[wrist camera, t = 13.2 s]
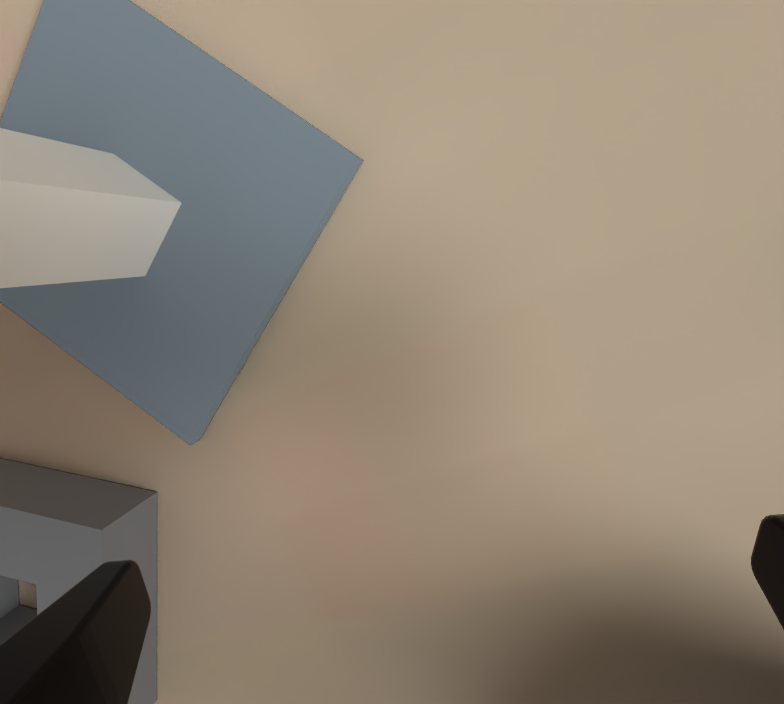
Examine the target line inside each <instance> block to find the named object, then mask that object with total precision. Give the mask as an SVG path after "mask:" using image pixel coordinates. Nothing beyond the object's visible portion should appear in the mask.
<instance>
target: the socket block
mask: <svg viewBox="0 0 784 704" xmlns="http://www.w3.org/2000/svg"><path fill="white" fill-rule="evenodd" d="M121 560H133V561H135V562H136V563H137V564H138V565H139V567H140V570H141V573H142V576H143V579H144V582H145V585H146V588H147V591H148V594H149V597H150V601H151V616H150V621H149V625H148V629H147V632H146V636H145V640H144V644H143V648H142V651H141V655H140V659H139V663H138V667H137V670H136V674H135V678H134V682H133V686H132V690H131V693H130V697H129V701H128V704H154V703H155V701H156V700H157V492H155V491H150V490H145V489H141V488H136V487H131V486H127V485H122V484H117V483H113V482H108V481H104V480H99V479H94V478H90V477H85V476H80V475H76V474H71V473H66V472H62V471H57V470H53V469H48V468H43V467H39V466H34V465H29V464H25V463H20V462H15V461H11V460H6V459H2V458H0V645H1V644H2V643H3V642H4V641H6V640H7V639H8V638H9V637H11V636H12V635H13V634H14V633H16V632H17V631H18V630H20V629H21V628H22V627H23V626H25V625H26V624H27V623H28V622H30V621H31V620H32V619H33V618H35V617H36V616H37V615H38V614H40V613H41V612H42V611H43V610H45V609H46V608H47V607H48V606H50V605H51V604H52V603H53V602H55V601H56V600H57V599H58V598H60V597H61V596H62V595H64V594H65V593H66V592H67V591H69V590H70V589H71V588H72V587H74V586H75V585H76V584H77V583H79V582H80V581H81V580H82V579H84V578H85V577H86V576H87V575H89V574H90V573H91V572H92V571H94V570H95V569H96V568H97V567H99V566H100V565H102V564H103V563H105V562H109V561H121ZM18 580H20V581H24V582H28V583H31V584H35V585H36V599H37V610H36V609H32V608H29V607H25V606H21V605H19V592H18Z"/></svg>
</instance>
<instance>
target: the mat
mask: <svg viewBox="0 0 784 704" xmlns="http://www.w3.org/2000/svg"><path fill="white" fill-rule="evenodd" d="M0 128H3V129H7V130H11V131H16V132H20V133H25V134H29V135H33V136H38V137H42V138H47V139H51V140H55V141H60V142H64V143H69V144H73V145H78V146H82V147H86V148H91V149H95V150H100V151H104V152H108V153H113V154H115V155H116V156H117V157H119V158H120V159H122V160H123V161H124V162H126V163H127V164H128V165H130V166H131V167H133V168H134V169H135V170H137V171H138V172H140V173H141V174H142V175H144V176H145V177H147V178H148V179H149V180H151V181H152V182H153V183H155V184H156V185H158V186H159V187H160V188H162V189H163V190H165V191H166V192H167V193H169V194H170V195H171V196H173V197H174V198H176V199H177V200H178V201H180V202H181V205H180V207H179V209H178V211H177V213H176V215H175V217H174V219H173V221H172V223H171V225H170V227H169V229H168V231H167V233H166V235H165V237H164V239H163V241H162V243H161V245H160V247H159V249H158V251H157V253H156V255H155V257H154V259H153V261H152V263H151V265H150V267H149V269H148V271H147V273H146V275H145V276H141V277H129V278H117V279H105V280H93V281H82V282H70V283H58V284H46V285H34V286H22V287H10V288H0V302H1V303H2V304H3V305H5V306H6V307H7V308H9V309H10V310H11V311H13V312H14V313H15V314H17V315H18V316H19V317H21V318H22V319H23V320H25V321H26V322H27V323H29V324H30V325H31V326H33V327H34V328H35V329H36V330H38V331H39V332H40V333H42V334H43V335H44V336H46V337H47V338H48V339H50V340H51V341H52V342H54V343H55V344H56V345H58V346H59V347H60V348H62V349H63V350H64V351H66V352H67V353H68V354H70V355H71V356H72V357H74V358H75V359H76V360H78V361H79V362H80V363H82V364H83V365H84V366H86V367H87V368H88V369H90V370H91V371H92V372H94V373H95V374H96V375H98V376H99V377H100V378H101V379H103V380H104V381H105V382H107V383H108V384H109V385H111V386H112V387H113V388H115V389H116V390H117V391H119V392H120V393H121V394H123V395H124V396H125V397H127V398H128V399H129V400H131V401H132V402H133V403H135V404H136V405H137V406H139V407H140V408H141V409H143V410H144V411H145V412H147V413H148V414H149V415H151V416H152V417H153V418H155V419H156V420H157V421H159V422H160V423H161V424H163V425H164V426H165V427H166V428H168V429H169V430H170V431H172V432H173V433H174V434H176V435H177V436H178V437H180V438H181V439H182V440H184V441H185V442H186V443H188V444H189V445H192V444H193V443H195V442H197V441H198V440H200V438H201V436H202V435H203V433H204V431H205V429H206V428H207V426H208V424H209V423H210V421H211V419H212V418H213V416H214V414H215V412H216V411H217V409H218V407H219V406H220V404H221V402H222V400H223V399H224V397H225V395H226V394H227V392H228V390H229V389H230V387H231V385H232V383H233V382H234V380H235V378H236V377H237V375H238V373H239V372H240V370H241V368H242V366H243V365H244V363H245V361H246V360H247V358H248V356H249V354H250V353H251V351H252V349H253V348H254V346H255V344H256V343H257V341H258V339H259V337H260V336H261V334H262V332H263V331H264V329H265V327H266V326H267V324H268V322H269V320H270V319H271V317H272V315H273V314H274V312H275V310H276V308H277V307H278V305H279V303H280V302H281V300H282V298H283V297H284V295H285V293H286V291H287V290H288V288H289V286H290V285H291V283H292V281H293V280H294V278H295V276H296V274H297V273H298V271H299V269H300V268H301V266H302V264H303V262H304V261H305V259H306V257H307V256H308V254H309V252H310V251H311V249H312V247H313V245H314V244H315V242H316V240H317V239H318V237H319V235H320V234H321V232H322V230H323V228H324V227H325V225H326V223H327V222H328V220H329V218H330V216H331V215H332V213H333V211H334V210H335V208H336V206H337V205H338V203H339V201H340V199H341V198H342V196H343V194H344V193H345V191H346V189H347V188H348V186H349V184H350V182H351V181H352V179H353V177H354V176H355V174H356V172H357V170H358V169H359V167H360V165H361V164H362V162H363V160H362V159H361V158H359V157H358V156H356V155H355V154H353V153H352V152H350V151H349V150H348V149H346V148H345V147H343V146H342V145H340V144H339V143H337V142H336V141H334V140H333V139H331V138H330V137H329V136H327V135H326V134H324V133H323V132H321V131H320V130H318V129H317V128H315V127H314V126H312V125H311V124H310V123H308V122H307V121H305V120H304V119H302V118H301V117H299V116H298V115H296V114H295V113H293V112H292V111H291V110H289V109H288V108H286V107H285V106H283V105H282V104H280V103H279V102H277V101H276V100H274V99H273V98H272V97H270V96H269V95H267V94H266V93H264V92H263V91H261V90H260V89H258V88H257V87H255V86H254V85H253V84H251V83H250V82H248V81H247V80H245V79H244V78H242V77H241V76H239V75H238V74H236V73H235V72H234V71H232V70H231V69H229V68H228V67H226V66H225V65H223V64H222V63H220V62H219V61H217V60H216V59H215V58H213V57H212V56H210V55H209V54H207V53H206V52H204V51H203V50H201V49H200V48H198V47H197V46H196V45H194V44H193V43H191V42H190V41H188V40H187V39H185V38H184V37H182V36H181V35H179V34H178V33H177V32H175V31H174V30H172V29H171V28H169V27H168V26H166V25H165V24H163V23H162V22H160V21H159V20H158V19H156V18H155V17H153V16H152V15H150V14H149V13H147V12H146V11H144V10H143V9H141V8H140V7H139V6H137V5H136V4H134V3H133V2H131V1H130V0H44V2H43V4H42V7H41V10H40V13H39V15H38V18H37V21H36V24H35V26H34V29H33V32H32V35H31V37H30V40H29V43H28V46H27V48H26V51H25V54H24V57H23V59H22V62H21V65H20V68H19V70H18V73H17V76H16V79H15V81H14V84H13V87H12V90H11V92H10V95H9V98H8V101H7V103H6V106H5V109H4V112H3V114H2V117H1V120H0Z"/></svg>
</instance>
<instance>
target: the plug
mask: <svg viewBox="0 0 784 704" xmlns="http://www.w3.org/2000/svg"><path fill="white" fill-rule="evenodd" d="M180 205H181V202H180V201H178V200H177V199H176V198H174V197H173V196H171V195H170V194H169V193H167V192H166V191H165V190H163V189H162V188H160V187H159V186H158V185H156V184H155V183H153V182H152V181H151V180H149V179H148V178H147V177H145V176H144V175H142V174H141V173H140V172H138V171H137V170H135V169H134V168H133V167H131V166H130V165H128V164H127V163H126V162H124V161H123V160H122V159H120V158H119V157H117V156H116V155H115V154H113V153H108V152H104V151H100V150H95V149H91V148H86V147H82V146H78V145H73V144H69V143H64V142H60V141H55V140H51V139H47V138H42V137H38V136H33V135H29V134H25V133H20V132H16V131H11V130H7V129H3V128H0V288H10V287H22V286H34V285H46V284H58V283H70V282H82V281H93V280H105V279H117V278H129V277H141V276H145V275H146V273H147V271H148V269H149V267H150V265H151V263H152V261H153V259H154V257H155V255H156V253H157V251H158V249H159V247H160V245H161V243H162V241H163V239H164V237H165V235H166V233H167V231H168V229H169V227H170V225H171V223H172V221H173V219H174V217H175V215H176V213H177V211H178V209H179V207H180Z"/></svg>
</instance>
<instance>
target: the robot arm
mask: <svg viewBox="0 0 784 704" xmlns="http://www.w3.org/2000/svg"><path fill="white" fill-rule="evenodd" d="M751 566H752V570H753V573H754V576H755V578H756V580H757V582H758V583H759V585H760V587H761V589H762V591H763V593H764V594H765V596H766V598H767V600H768V602H769V604H770V605H771V607H772V609H773V611H774V613H775V615H776V616H777V618H778V620H779V622H780V624H781V625H782V627H783V629H784V514H779V515H769V516H766V517H765V518H764V519H763V520H762V521H761V524H760V527H759V530H758V534H757V538H756V541H755V545H754V548H753V552H752V556H751ZM150 616H151V601H150V597H149V594H148V591H147V588H146V585H145V582H144V579H143V576H142V573H141V570H140V567H139V565H138V564H137V563H136V562H135V561H133V560H121V561H109V562H105V563H103V564H102V565H100V566H99V567H97V568H96V569H95V570H94V571H92V572H91V573H90V574H89V575H87V576H86V577H85V578H84V579H82V580H81V581H80V582H79V583H77V584H76V585H75V586H74V587H72V588H71V589H70V590H69V591H67V592H66V593H65V594H64V595H62V596H61V597H60V598H58V599H57V600H56V601H55V602H53V603H52V604H51V605H50V606H48V607H47V608H46V609H45V610H43V611H42V612H41V613H40V614H38V615H37V616H36V617H35V618H33V619H32V620H31V621H30V622H28V623H27V624H26V625H25V626H23V627H22V628H21V629H20V630H18V631H17V632H16V633H14V634H13V635H12V636H11V637H9V638H8V639H7V640H6V641H4V642H3V643H2V644H1V645H0V704H128V701H129V697H130V693H131V690H132V686H133V682H134V678H135V674H136V670H137V667H138V663H139V659H140V655H141V651H142V648H143V644H144V640H145V636H146V632H147V629H148V625H149V621H150Z"/></svg>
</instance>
